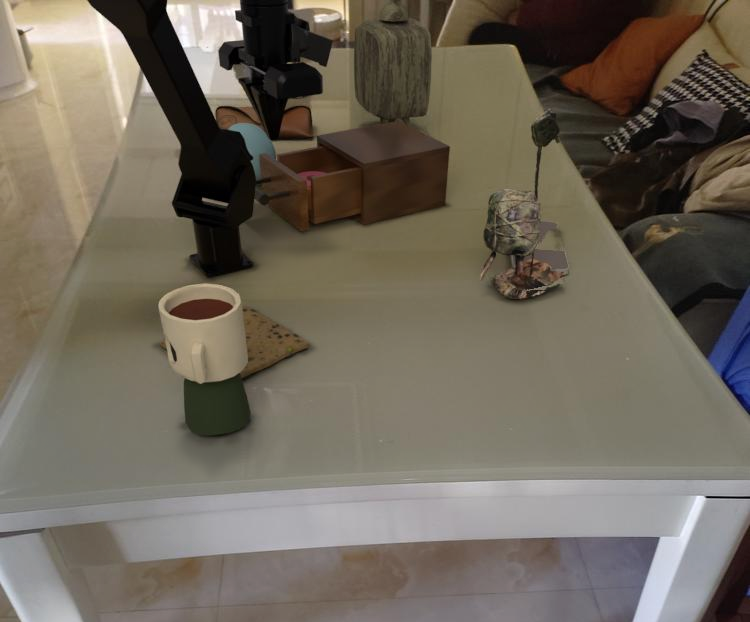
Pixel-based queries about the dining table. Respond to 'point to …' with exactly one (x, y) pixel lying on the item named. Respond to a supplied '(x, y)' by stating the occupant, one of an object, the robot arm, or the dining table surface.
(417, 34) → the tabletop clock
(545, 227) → the smartphone
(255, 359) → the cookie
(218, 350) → the character mug
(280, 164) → the drawer
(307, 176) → the donut
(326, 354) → the dining table surface
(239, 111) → the sunglasses case
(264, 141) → the light blue ball
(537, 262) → the plant with pod
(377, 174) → the cabinet
